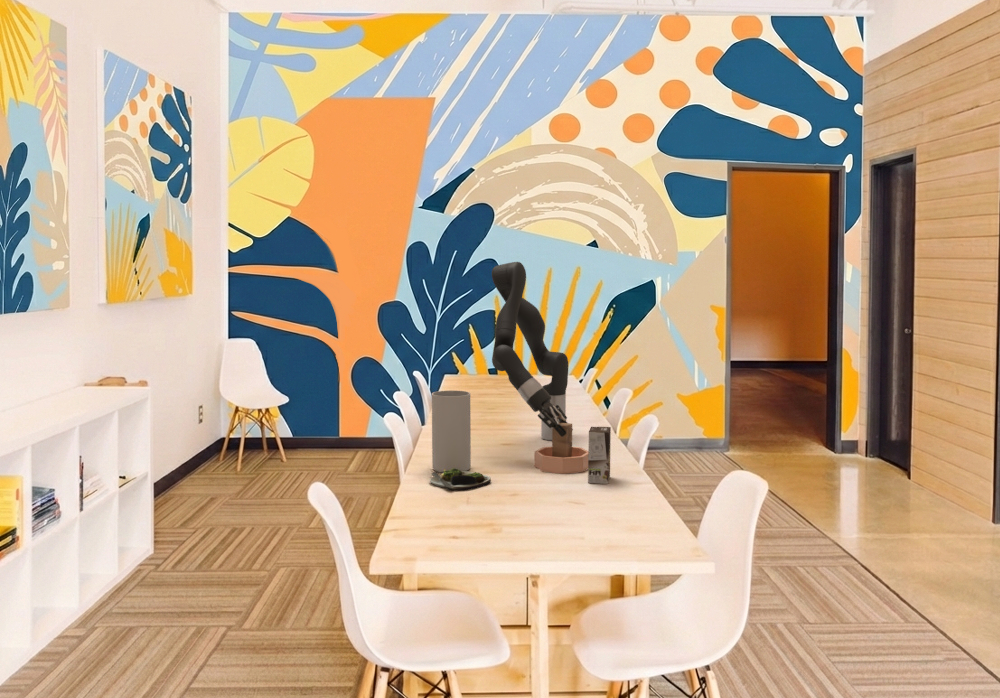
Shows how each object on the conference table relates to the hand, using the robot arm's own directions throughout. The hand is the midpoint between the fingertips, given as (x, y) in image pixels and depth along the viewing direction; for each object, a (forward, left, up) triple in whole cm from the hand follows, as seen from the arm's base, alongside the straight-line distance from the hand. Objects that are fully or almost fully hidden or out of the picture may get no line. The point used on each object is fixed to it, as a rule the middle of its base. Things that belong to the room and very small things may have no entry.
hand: (567, 433), depth 271 cm
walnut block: (0, -2, -8) cm, 8 cm away
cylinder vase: (+18, -33, -12) cm, 40 cm away
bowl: (0, -2, -11) cm, 12 cm away
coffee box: (+10, +15, -12) cm, 21 cm away
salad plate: (+32, -22, -12) cm, 41 cm away
